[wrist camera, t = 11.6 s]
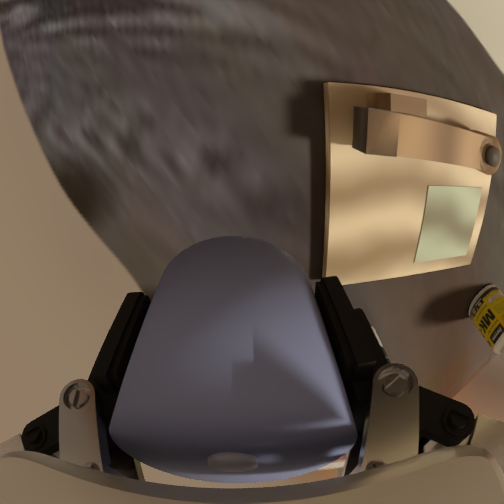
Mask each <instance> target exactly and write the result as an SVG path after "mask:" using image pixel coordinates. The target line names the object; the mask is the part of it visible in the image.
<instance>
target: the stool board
mask: <svg viewBox="0 0 504 504" xmlns="http://www.w3.org/2000/svg"><path fill="white" fill-rule="evenodd" d="M323 88H324V106H325V134H326V205H325V234H324V253H323V269H322V277H329V276H337V277H338V278H339V280H340V282H341V284H342V285H346V284H353V283H360V282H367V281H374V280H381V279H388V278H394V277H401V276H407V275H413V274H419V273H425V272H431V271H436V270H442V269H447V268H453V267H458V266H463V265H468V264H470V263H471V260H472V257H473V254H474V250H475V247H476V243H477V240H478V236H479V233H480V229H481V225H482V221H483V217H484V212H485V208H486V203H487V198H488V193H489V187H490V181H491V175H486V174H484V173H482V172H480V171H478V170H476V169H473V168H469V167H463V166H458V165H453V164H447V163H441V162H435V161H428V160H421V159H414V158H406V157H391V156H380V155H369V154H364V153H362V152H360V151H358V150H356V149H354V148H352V141H353V118H354V106H357V107H367V108H374V109H381V110H387V111H392V112H398V113H400V114H405V115H409V116H414V117H419V118H423V119H428V120H432V121H436V122H440V123H443V124H447V125H451V126H454V127H458V128H461V129H465V130H468V131H470V130H477V131H480V132H483V133H486V134H489V135H492V136H496V114H493V113H490V112H487V111H484V110H481V109H478V108H475V107H472V106H469V105H465V104H462V103H458V102H455V101H451V100H447V99H443V98H439V97H434V96H430V95H425V94H421V93H416V92H410V91H405V90H399V89H392V88H385V87H378V86H369V85H360V84H348V83H333V82H327V83H323Z"/></svg>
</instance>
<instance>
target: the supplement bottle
mask: <svg viewBox="0 0 504 504" xmlns="http://www.w3.org/2000/svg"><path fill="white" fill-rule="evenodd" d="M469 317H470V318H471V320H472V321H473V322H474V324H475V325H476V326H477V328H478V329H479V331H480V332H481V333H482V335H483V336H484V338H485V339H486V341H487V342H488V344H489V345H490V347H491V348H492V350H493V351H494V352H495V353H497V354H500V353H501V357H502V359H503V361H504V295H503V294H502V293H501V292H500V290H499V289H498V288H497V287H496V286H495V285H488V286H486V287H485V288H483V289H482V290H481V291H480V292H479V293H478V294H477V295H476V296H475V298H474V299H473V301H472V302H471V304H470V307H469Z"/></svg>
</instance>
